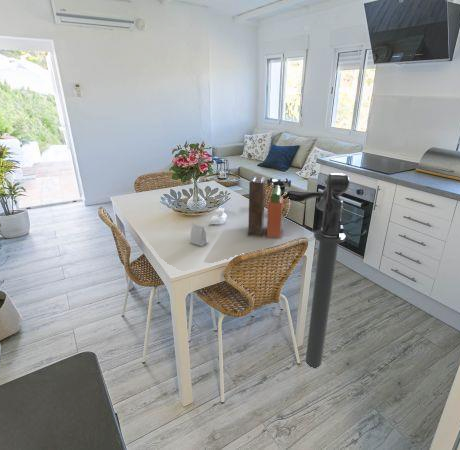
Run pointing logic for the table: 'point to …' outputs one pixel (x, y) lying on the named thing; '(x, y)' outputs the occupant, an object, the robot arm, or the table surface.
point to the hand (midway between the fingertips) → (278, 179)
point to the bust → (218, 217)
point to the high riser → (256, 205)
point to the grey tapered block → (198, 235)
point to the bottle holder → (274, 218)
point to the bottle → (276, 194)
